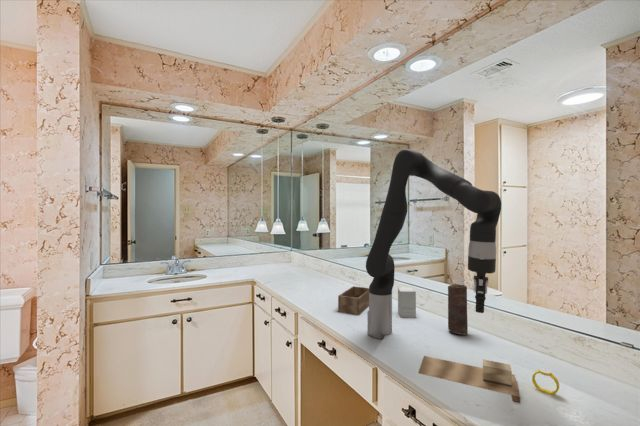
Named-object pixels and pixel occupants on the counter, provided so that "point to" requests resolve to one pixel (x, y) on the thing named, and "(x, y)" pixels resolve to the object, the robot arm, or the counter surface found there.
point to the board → (465, 375)
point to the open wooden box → (353, 300)
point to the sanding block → (497, 373)
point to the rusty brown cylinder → (457, 309)
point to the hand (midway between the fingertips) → (479, 308)
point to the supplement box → (407, 302)
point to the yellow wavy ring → (547, 373)
